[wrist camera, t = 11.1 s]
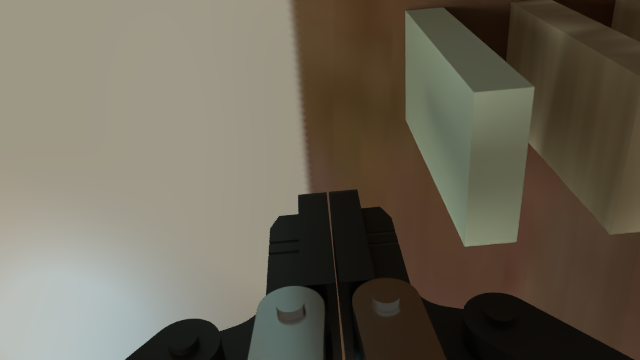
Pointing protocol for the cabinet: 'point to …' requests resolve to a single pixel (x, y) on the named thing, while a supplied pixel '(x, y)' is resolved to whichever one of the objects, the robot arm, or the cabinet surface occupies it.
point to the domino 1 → (468, 124)
